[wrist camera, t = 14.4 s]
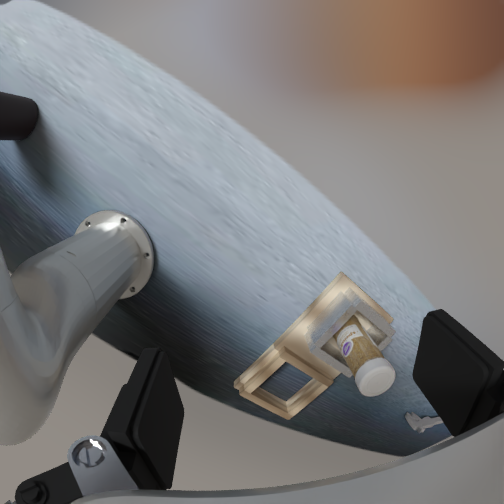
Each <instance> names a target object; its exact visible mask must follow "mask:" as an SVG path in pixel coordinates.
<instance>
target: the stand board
mask: <svg viewBox="0 0 504 504" xmlns="http://www.w3.org/2000/svg"><path fill="white" fill-rule="evenodd" d="M349 287H350V288H351V289H352V290H354V291H355V292H356V293H357V294H358V295H359V296H360V297H362V298H363V299H364V300H365V301H366V302H367V303H368V304H369V305H371V306H372V307H373V308H374V309H375V310H376V311H377V312H378V313H380V314H381V315H382V316H383V317H384V318H385V319H386V320H387V322H388V323H389V324H390V323H391V322H392V321H393V320H394V319H393V318H392V317H391V316H390V315H389V314H388V313H387V312H386V311H385V310H384V309H383V308H382V307H381V306H379V305H378V304H377V303H376V302H375V301H374V300H373V299H372V298H371V297H370V296H368V295H367V294H366V293H365V292H364V291H363V290H362V289H361V288H360V287H358V286H357V285H356V284H355V283H354V282H353V281H352V280H351V279H349V278H348V277H347V276H346V275H345V274H344V273H343V272H340V273H339V274H338V275H337V276H336V277H335V279H334V280H333V281H332V282H331V283H330V284H329V285H328V286H327V287H326V289H325V290H324V291H323V292H322V293H321V294H320V295H319V296H318V297H317V298H316V299H315V301H314V302H313V303H312V304H311V305H310V306H309V307H308V308H307V309H306V310H305V311H304V312H303V313H302V314H301V315H300V317H299V318H298V319H297V320H296V321H295V322H294V323H293V324H292V325H291V326H290V327H289V328H288V329H287V330H286V331H285V332H284V333H283V334H282V335H281V336H280V337H279V338H278V339H277V340H276V341H275V342H274V343H273V344H272V345H271V346H270V347H269V348H268V349H267V350H266V351H265V352H264V353H263V354H262V355H261V356H260V357H259V358H258V359H257V360H256V361H255V362H254V363H253V364H252V365H251V366H250V367H249V368H248V369H247V370H246V371H244V372H243V373H242V374H241V375H240V376H239V377H238V378H237V379H236V380H235V381H234V387H235V388H236V389H238V390H239V395H241V396H243V397H245V398H246V399H248V400H250V401H252V402H254V403H256V404H258V405H260V406H262V407H263V408H265V409H267V410H269V411H271V412H273V413H275V414H277V415H279V416H281V417H283V418H285V419H288V420H289V419H290V418H292V417H293V416H294V415H295V414H297V413H298V412H299V411H300V410H302V409H303V408H304V407H305V406H307V405H308V404H309V403H310V402H311V401H313V400H314V399H315V398H316V397H317V396H318V395H320V394H321V393H322V392H323V391H324V390H325V389H327V388H328V387H329V386H330V385H331V384H332V383H333V379H335V378H336V377H337V376H338V375H339V374H340V373H341V372H339V371H338V370H336V369H335V368H333V367H332V366H330V365H329V364H327V363H325V362H324V361H322V360H321V359H319V358H318V357H316V356H315V355H313V354H312V353H310V350H309V347H308V344H307V342H306V339H305V336H304V335H305V334H306V333H307V332H308V329H307V327H308V326H309V325H310V324H311V322H312V321H313V320H314V319H315V318H316V317H317V316H318V315H319V314H320V313H321V312H322V311H323V310H324V309H325V308H326V307H327V306H328V305H329V303H330V302H331V301H332V300H333V299H334V298H335V297H336V296H337V295H338V294H339V293H340V292H343V293H345V292H346V290H347V289H348V288H349ZM353 315H355V316H356V317H357V318H358V320H359V322H360V324H361V325H362V326H363V327H364V328H365V330H366V331H367V330H368V329H369V328H370V327H371V326H372V325H373V323H372V322H371V321H370V320H369V319H368V318H366V317H365V316H364V315H363V314H362V313H361V312H359V311H358V310H357V311H356V312H355V313H354V314H353ZM327 342H328V343H330V344H331V345H332V346H334V347H335V348H337V349H338V350H339V351H340V349H339V348H338V345H337V342H336V341H335V339H334V337H333V336H332V337H331V338H330V339H329V340H328V341H327ZM285 362H288V363H290V364H291V365H293V366H294V367H296V368H298V369H299V370H301V371H303V372H304V373H306V374H307V375H309V376H311V377H312V378H313V379H312V380H310V381H309V382H308V383H307V384H306V385H305V386H304V387H303V388H301V389H300V390H299V391H298V392H297V393H296V394H294V395H293V396H292V397H291V398H290V399H289V400H287V401H284V400H282V399H280V398H278V397H276V396H274V395H273V394H271V393H269V392H267V391H265V390H264V389H262V388H260V387H258V386H260V385H261V384H262V383H263V382H264V381H265V380H266V379H267V378H268V377H270V376H271V375H272V374H273V373H274V372H275V371H276V370H277V369H278V368H279V367H280V366H281V365H282V364H283V363H285Z"/></svg>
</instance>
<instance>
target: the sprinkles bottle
mask: <svg viewBox="0 0 504 504" xmlns="http://www.w3.org/2000/svg"><path fill="white" fill-rule="evenodd" d="M333 337H334V339H335V341H336V342H337V345H338V348H339V349H340V351H341V353H342V355H343V357H344V359H345V360H346V362H347V364H348V366H349V368H350V370H351V372H352V374H353V375H354V377H355V383H356V385H357V387H358V389H359V391H360V392H361V393H362V394H363V395H365V396H368V397H372V396H377V395H380V394H382V393H384V392H385V391H386V390H388V389H389V388H390V387H391V385H392V384H393V382H394V380H395V370H394V369H393V367H392V365H391V364H390V362H389V361H388V360H386V359H385V358H384V356H383V355H382V354H381V352H380V350H379V348H378V347H377V345H376V344H375V342H374V341H373V339H372V338H371V337H370V335H369V334H368V332H367V331H366V330H365V328H364V327H363V326H362V325H361V324H360V322H359V320H358V318H357V317H356V316H355V315H352V316H351V318H350V319H349V320H348V321H347V322H346V323H345V324H344V325H343V326H342V327H341V328H340V329H339V330H338V331H337V332H336V333H335V334H334V335H333Z"/></svg>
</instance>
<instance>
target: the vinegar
mask: <svg viewBox="0 0 504 504" xmlns="http://www.w3.org/2000/svg"><path fill="white" fill-rule="evenodd" d="M37 116H38V109H37V106H36V103H35V102H34V101H33V100H32V99H29V98H26V97H22V96H17V95H13V94H8V93H4V92H0V140H23V139H25V138H26V137H28V136H29V135H30V134H31V132H32V131H33V129H34V127H35V124H36V122H37Z"/></svg>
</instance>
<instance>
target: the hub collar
mask: <svg viewBox="0 0 504 504" xmlns="http://www.w3.org/2000/svg"><path fill="white" fill-rule="evenodd" d="M357 310H358V311H359V312H361V313H362V314H363V315H364V316H365V317H366V318H368V319H369V320H370V321H371V322H372V323H373V325H372V326H371V327H370V328H369V329H368V330H367V332H368V334H369V335H370V337H371V338H372V339H373V341H374V342H375V344H376V345H377V347H378V348H379V350H380V352H381V351H382V350H383V349H384V348H385V347H386V346H387V345H388V344H389V343H390V342H391V341H392V338H391V337H392V336H393V334H394V333H395V332H396V331H395V330H394V328H393V327H392V326H391V325H390V324H389V323H388V322H387V320H386V319H385V318H384V317H383V316H382V315H381V314H380V313H378V312H377V311H376V310H375V309H374V308H373V307H372V306H371V305H369V304H368V303H367V302H366V301H365V300H364V299H363V298H362V297H360V296H359V295H358V294H357V293H356V292H355V291H354V290H352V289H351V288H350V287H349V288H348V289H347V290H346V292H345V293H343V292H340V293H339V294H338V295H337V296H336V297H335V298H334V299H333V300H332V301H331V302H330V303H329V305H328V306H327V307H326V308H325V309H324V310H323V311H322V312H321V313H320V314H319V315H318V316H317V317H316V318H315V319H314V320H313V321H312V322H311V324H310V325H309V326H308V327H307V329H308V332H307V333H306V334H305V335H304V336H305V339H306V342H307V344H308V347H309V350H310V353H312V354H313V355H315V356H316V357H318V358H319V359H321V360H322V361H324V362H325V363H327V364H329V365H330V366H332V367H333V368H335V369H336V370H338V371H339V372H341V373H342V374H344V375H345V376H347V377H349V378H350V377H351V376H352V375H353V374H352V372H351V370H350V368H349V366H348V364H347V362H346V360H345V359H344V357H343V355H342V353H341V351H339V350H338V349H337V348H335V347H334V346H332V345H331V344H330V343H328V342H327V341H328V340H329V339H330V338H331V337H332V336H333V335H334V334H335V333H336V332H337V331H338V330H339V329H340V328H341V327H342V326H343V325H344V324H345V323H346V322H347V321H348V320H349V319H350V318H351V316H352V315H353V314H354V313H355V312H356V311H357Z"/></svg>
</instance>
